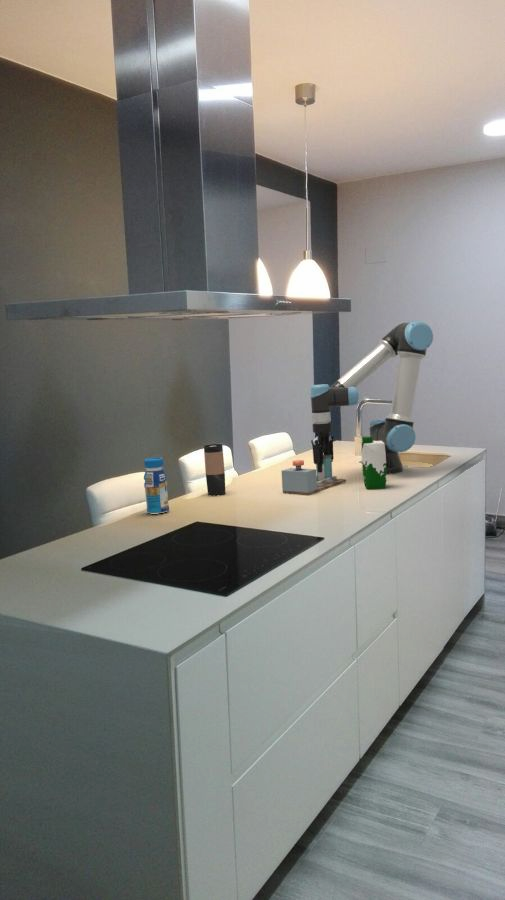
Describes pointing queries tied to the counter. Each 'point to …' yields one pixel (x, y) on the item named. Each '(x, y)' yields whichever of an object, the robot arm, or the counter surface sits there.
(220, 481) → the travel mug
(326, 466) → the carriage
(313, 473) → the cabinet
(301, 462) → the button
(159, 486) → the beverage bottle
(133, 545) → the counter surface
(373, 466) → the milk carton
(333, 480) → the rail track
